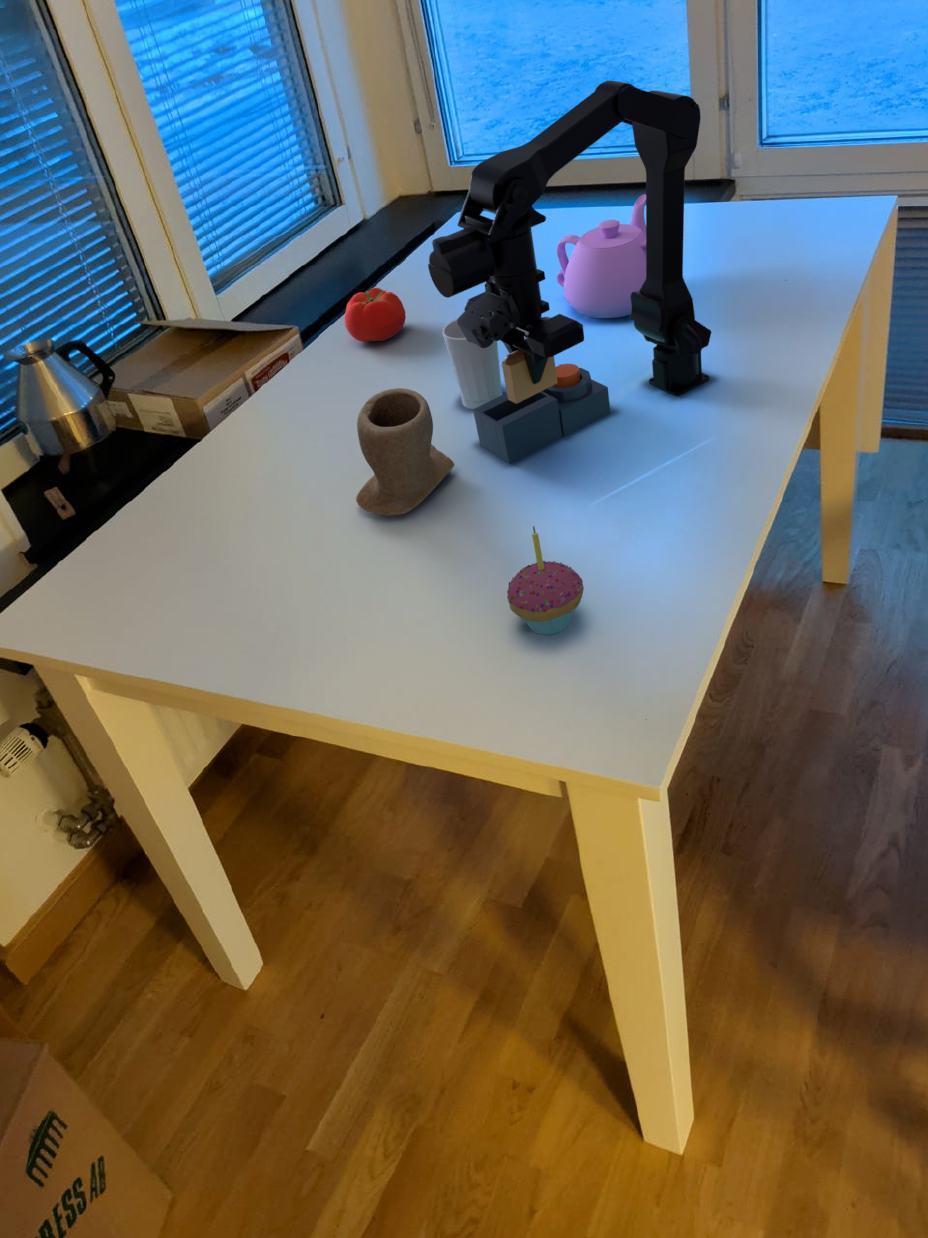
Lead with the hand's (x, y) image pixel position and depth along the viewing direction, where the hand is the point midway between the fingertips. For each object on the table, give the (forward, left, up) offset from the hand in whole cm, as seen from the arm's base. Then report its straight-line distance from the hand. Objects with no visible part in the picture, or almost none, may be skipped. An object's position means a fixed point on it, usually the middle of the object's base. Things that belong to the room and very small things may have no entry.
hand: (531, 380), depth 141 cm
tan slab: (0, 0, -2) cm, 2 cm away
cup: (-3, -20, -11) cm, 23 cm away
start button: (-8, -5, -5) cm, 11 cm away
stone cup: (+18, -6, -11) cm, 22 cm away
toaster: (0, -5, -11) cm, 12 cm away
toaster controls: (-9, -5, -11) cm, 15 cm away
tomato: (-4, -55, -11) cm, 56 cm away
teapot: (-39, -30, -11) cm, 50 cm away
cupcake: (+21, +30, -11) cm, 39 cm away
